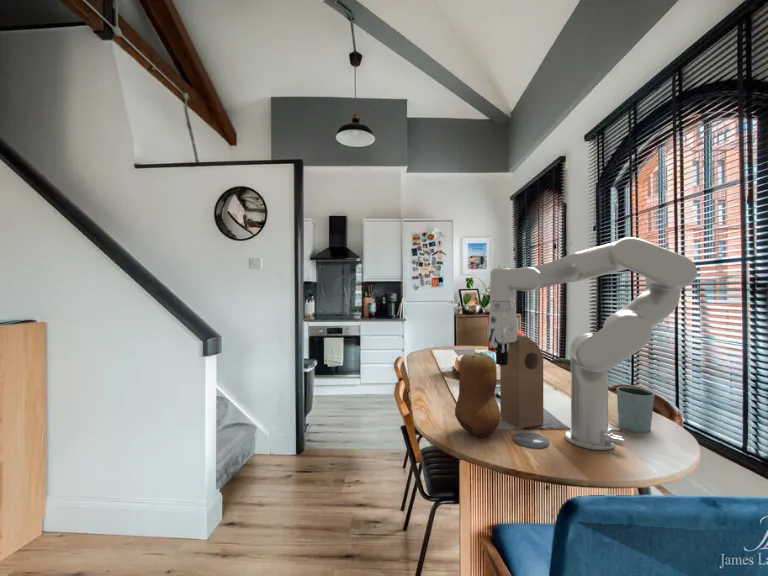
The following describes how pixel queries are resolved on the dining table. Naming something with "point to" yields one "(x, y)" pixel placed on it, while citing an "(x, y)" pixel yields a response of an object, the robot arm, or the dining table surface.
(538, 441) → the grey dome
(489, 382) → the butternut squash
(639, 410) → the grey-green cup
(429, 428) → the dining table surface
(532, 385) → the decorative block
